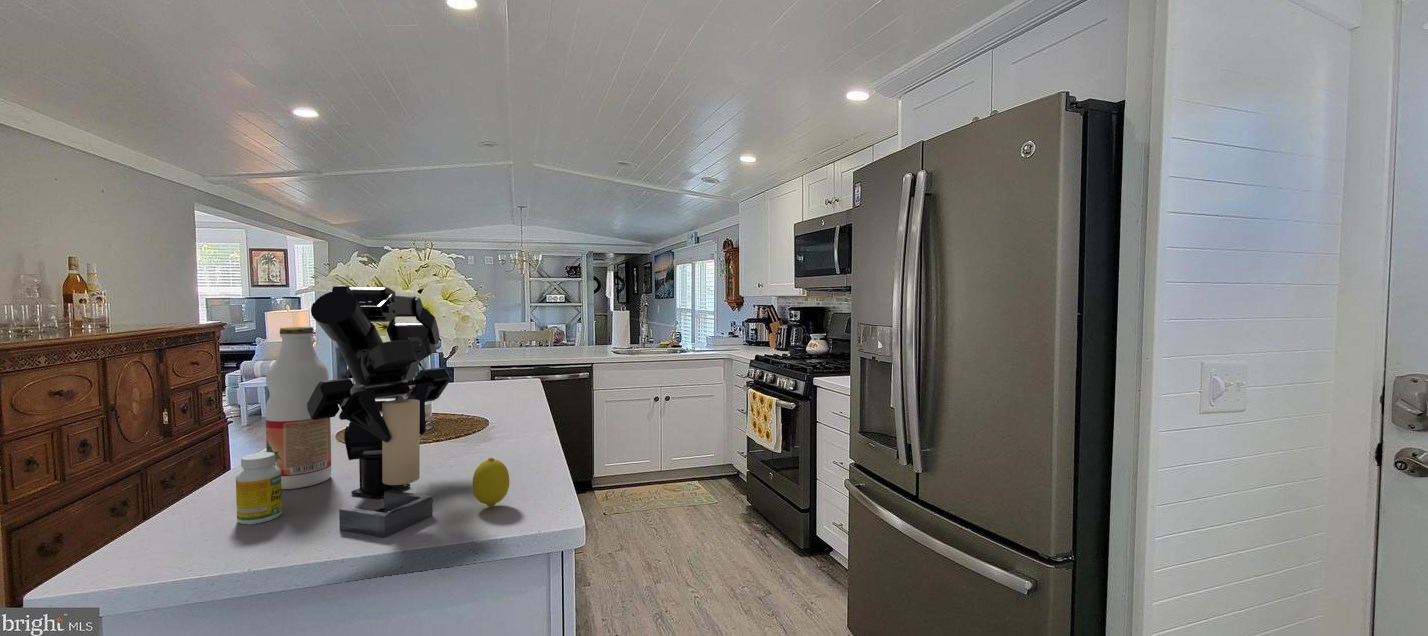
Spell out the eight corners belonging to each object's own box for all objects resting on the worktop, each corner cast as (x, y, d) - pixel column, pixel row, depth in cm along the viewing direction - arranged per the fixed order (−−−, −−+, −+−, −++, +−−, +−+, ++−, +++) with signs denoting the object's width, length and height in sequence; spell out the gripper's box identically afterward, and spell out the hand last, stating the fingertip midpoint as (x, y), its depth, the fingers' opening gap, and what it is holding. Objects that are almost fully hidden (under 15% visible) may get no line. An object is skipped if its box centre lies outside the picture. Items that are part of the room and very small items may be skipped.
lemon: (496, 515, 87) (496, 463, 87) (465, 512, 88) (464, 461, 88) (516, 502, 93) (516, 454, 92) (486, 499, 94) (485, 452, 93)
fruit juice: (315, 489, 98) (311, 328, 97) (254, 491, 97) (250, 328, 96) (341, 472, 108) (338, 325, 107) (286, 474, 106) (283, 326, 105)
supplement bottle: (243, 514, 87) (241, 453, 86) (286, 509, 89) (284, 449, 89) (231, 527, 82) (229, 462, 82) (277, 521, 84) (275, 458, 84)
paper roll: (374, 482, 82) (374, 403, 82) (403, 472, 87) (403, 397, 86) (398, 487, 80) (398, 406, 80) (426, 477, 85) (427, 401, 84)
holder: (339, 529, 82) (339, 509, 81) (389, 508, 90) (389, 489, 90) (384, 537, 79) (384, 516, 79) (432, 515, 87) (432, 496, 87)
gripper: (315, 322, 76) (358, 414, 71) (444, 318, 92) (487, 393, 87) (290, 374, 81) (328, 464, 76) (416, 362, 97) (455, 435, 92)
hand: (406, 436), depth 82 cm, fingers closed on paper roll, 5 cm apart
